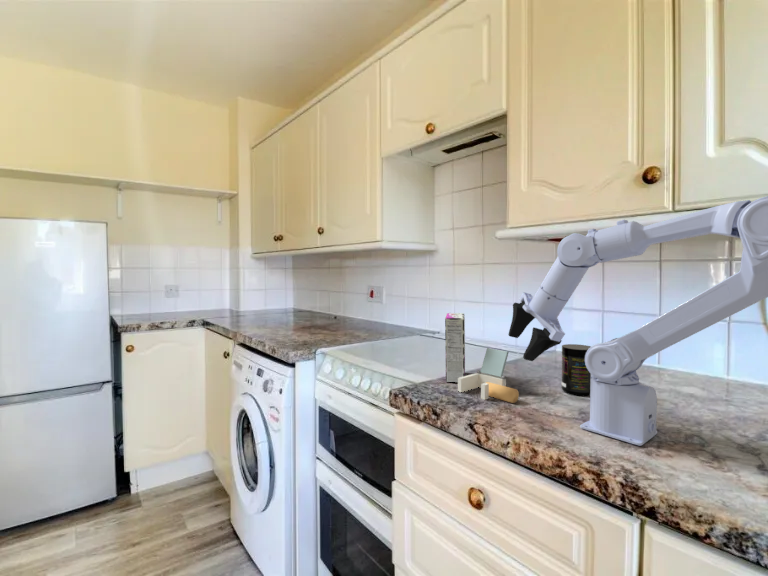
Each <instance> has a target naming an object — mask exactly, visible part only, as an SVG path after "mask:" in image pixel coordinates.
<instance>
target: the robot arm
mask: <svg viewBox="0 0 768 576" xmlns="http://www.w3.org/2000/svg"><path fill="white" fill-rule="evenodd" d="M706 235H718V236H719V235H720V236H726V237H731V238H735V239H740V240H741V244H742V252H741V260H740V268H739V271H738V272H736V273H734V274H732V275H730V276H728V277H727V278H725V279H723V280H722V281H720V282H718V283H716V284H715V285H712V286H711V287H709V288H707V289H705V290H704V291H702V292H700V293H699V294H697V295H695V296H693V297H691V298H690V299H688V300H686V301H685V302H683V303H681V304H679V305H678V306H676V307H674V308H672V309H670V310H668V311H666V312H665V313H663V314H661V315H659V316H657V317H656V318H654V319H652V320H651V321H649V322H646V323H645V324H643V325H642V326H640V327H638V328H636V329H635V330H633V331H631V332H628V333H627V334H625V335H622V336H619V337H615V338H612V339H611V340H609V341H605V342H600V343H595V344H593V345H591V347H590V348H589V349H588V350H587V352H586V355H585V365H586V367H587V369H588V371H589V372H590V373H591V378H590V395H589V420H587V421H585V422H583V423H582V424H580V425H579V428H581V429H583V430H586V431H589V432H593V433H595V434H600V435H602V436H606V437H609V438H612V439H615V440H618V441H622V442H626V443H629V444H631V445H632V444H633V445H635V446H640V447H641V446H643V445H644V444H646V443H647V442H648V441H650V440H651V439H652V438H654V437H655V436H656V435H658V430H657V416H658V415H657V412H658V411H657V409H658V408H657V406H658V404H657V403H658V398H657V396H658V395H657V391H656V389H655V387H652V386H650V385H646V384H644V383H641V382H640V377H639V375H638V372H637V371H638V370H639V369H640V368H641V367H642V365H643V363H644V362H645V361H646V360H647V359H648V358H651V357H653V356H654V355H656V354H658V353H659V352H662V351H664V350H665V349H668V348H670V347H672V346H673V345H676V344H677V343H680V342H681V341H684V340H685V339H687V338H689V337H691V336H693V335H696V334H698V333H699V332H701V331H703V330H705V329H707V328H709V327H711V326H713V325H715V324H718V323H719V322H721V321H723V320H725V319H727V318H728V317H729V318H730V317H731V316H733V315H735V314H738V313H740V312H742V311H743V310H745V309H747V308H749V307H751V306H753V305H755V304H757V303H759V302H761V301H763V300H765V299H767V298H768V195H766V196H763V197H759V198H757V199H755V200H753V201H751V200H750V199H747V200H739V201H734V202H728V203H724V204H721V205H720V204H719V205H716V206H712V207H709V208H704V209H702V210H698V211H694V212H690V213H687V214H684V215H681V216H676V217H674V218H673V217H672V218H669V219H666V220H662V221H658V222H655V223H652V224H651V223H650V224H648V225H643V224H641V223H640V222H637V221H634V220H633V221H629V220H626V219H620V220H617V221H616V225H613V226H609V227H604V228H601V229H598V230H597V229H596V228H589V229H588V230H587V234H586V235H584V234H581V233H578V232H577V233H575V232H574V233H571V234H570V235H567V236H565V237H563V238H562V239H561V241H560V242H559V243H558V245H557V250H556V251H557V252H556V253H557V257H556V258H555V260H554V262H553V263H552V265H551V267H550V269H549V270H548V272H547V274H546V275H545V277H544V279H543V280H542V282H541V284H540V285H539V286H538V288H537V290H536V292H535V293H534V295H532V293H528V292H524V291H522V293H521V295H520V296H519V298H518V300H519V301H520V302H513V304H512V311H513V312H512V319H511V324H510V327H509V330H508V333H507V334H508V336H509V337H511V338H515V339H518V338H519V337H521V336H522V334H523V332H524V331H525V329H526V328H527V326H529V325H530V323H531V322H533V320H535V319H536V320H537V321H538V323H539V324H540V325H541V326H542V328H543V329H541V328H537V327H533V328H532V333H531V337H530V341H529V343H528V344H527V347H526V349H525V351H524V353H523V356H522V358H523V359H524V360H525V361H530V362H534V360H536V359H537V358H538V357H539V356H541V355H542V354H543V353H545V352H546V351H548V350H549V349H551V348H553V347H555V346H558V345H560V344H561V343H562V342H563V338H564V336H565V335H566V333H565V332H564V331H563V328H562V327H561V324H560V322H559V319H558V316H560V314H561V313H562V310H563V309H564V307H565V306H566V305H567V304H568V302H569V300H570V298H571V297H572V295H573V293H574V292H575V291H576V289H577V288H578V286H579V285H580V283H581V281H582V279H584V276H585V274H586V273H587V271H588V270H589V268H592V267H595V266H596V265H597V264H599V263H606V262H612V261H618V260H622V259H627V258H632V257H637V256H642V255H643V254H644V253H645V251H647V249H648V248H649V247H650V246H652V245H656V244H657V245H658V244H662V243H666V242H667V243H668V242H669V243H670V242H674V241H679V240H684V239H689V238H697V237H701V236H706Z"/></svg>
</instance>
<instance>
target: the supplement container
mask: <svg viewBox="0 0 768 576" xmlns="http://www.w3.org/2000/svg"><path fill="white" fill-rule="evenodd" d="M591 346H592V345H591ZM591 346H590V345H584V344H572V343H570V344H567V343H566V344H562V345H561V390H562V392H564V393H566V394H568V395H571V396H576V397H577V396H579V397H587V396H589V397H590V378H591V373H590V372H589V371H588V369H587V367H586V365H585V355H586V352H587V350H588V349H589V348H590V347H591Z"/></svg>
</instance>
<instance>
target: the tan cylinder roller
mask: <svg viewBox="0 0 768 576" xmlns="http://www.w3.org/2000/svg"><path fill="white" fill-rule="evenodd" d="M486 383H487V384H489V397H491V398H493V397H494V399H497V400H501V401H504V402H507V403H512V404H515V403H517V402H518V399H519V395H520V392H519V391H518V389H517V388H513V387H509V386H507V385H506V386H502V385H498V384H494V383H490V382H486Z"/></svg>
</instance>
